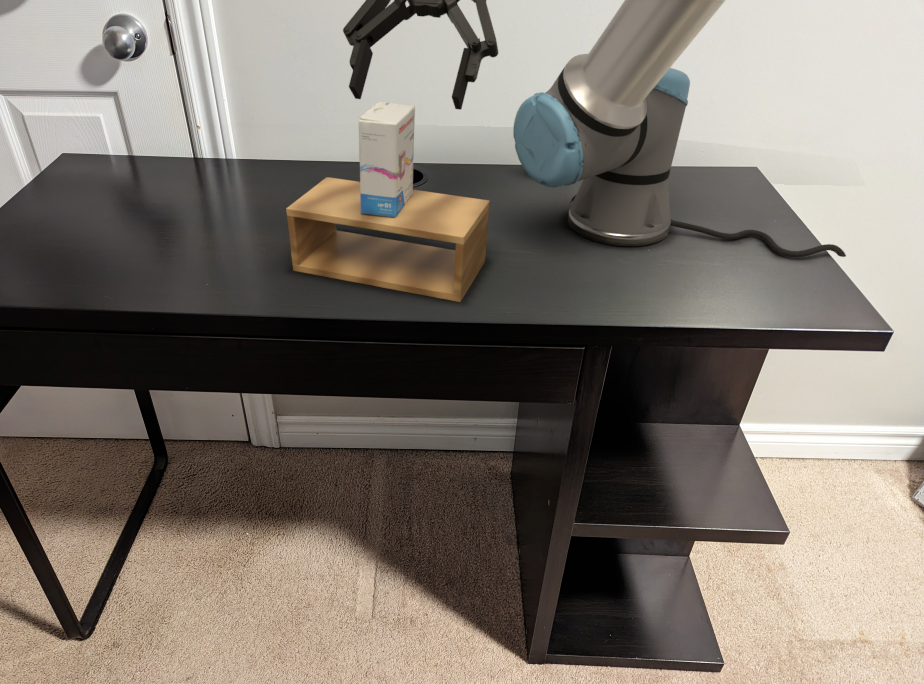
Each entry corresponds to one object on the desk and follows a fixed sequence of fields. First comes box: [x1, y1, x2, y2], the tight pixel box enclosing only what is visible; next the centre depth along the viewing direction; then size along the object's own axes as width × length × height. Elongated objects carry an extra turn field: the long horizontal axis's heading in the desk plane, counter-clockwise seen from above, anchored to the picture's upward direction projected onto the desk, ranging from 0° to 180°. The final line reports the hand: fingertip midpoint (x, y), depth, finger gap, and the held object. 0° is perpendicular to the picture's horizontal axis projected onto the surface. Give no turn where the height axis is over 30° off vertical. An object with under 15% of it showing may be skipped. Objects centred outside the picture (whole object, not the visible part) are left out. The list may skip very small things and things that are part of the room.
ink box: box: [358, 101, 416, 218], centre depth 86 cm, size 9×5×12 cm, turn 165°
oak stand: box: [285, 176, 491, 303], centre depth 92 cm, size 24×12×9 cm, turn 70°
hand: (404, 98), depth 85 cm, fingers open, 13 cm apart
